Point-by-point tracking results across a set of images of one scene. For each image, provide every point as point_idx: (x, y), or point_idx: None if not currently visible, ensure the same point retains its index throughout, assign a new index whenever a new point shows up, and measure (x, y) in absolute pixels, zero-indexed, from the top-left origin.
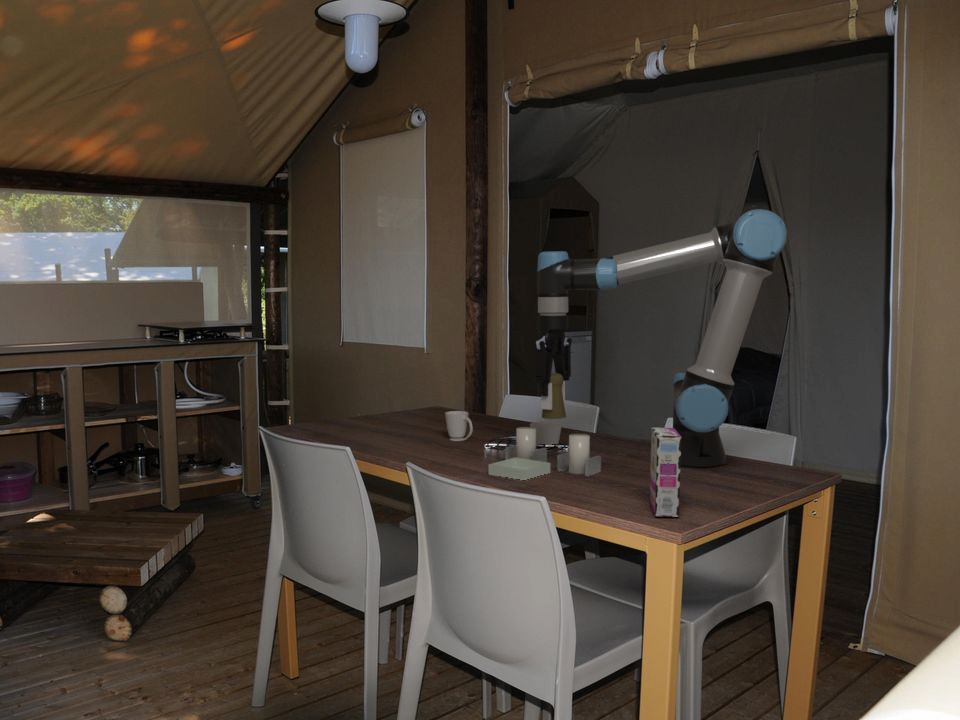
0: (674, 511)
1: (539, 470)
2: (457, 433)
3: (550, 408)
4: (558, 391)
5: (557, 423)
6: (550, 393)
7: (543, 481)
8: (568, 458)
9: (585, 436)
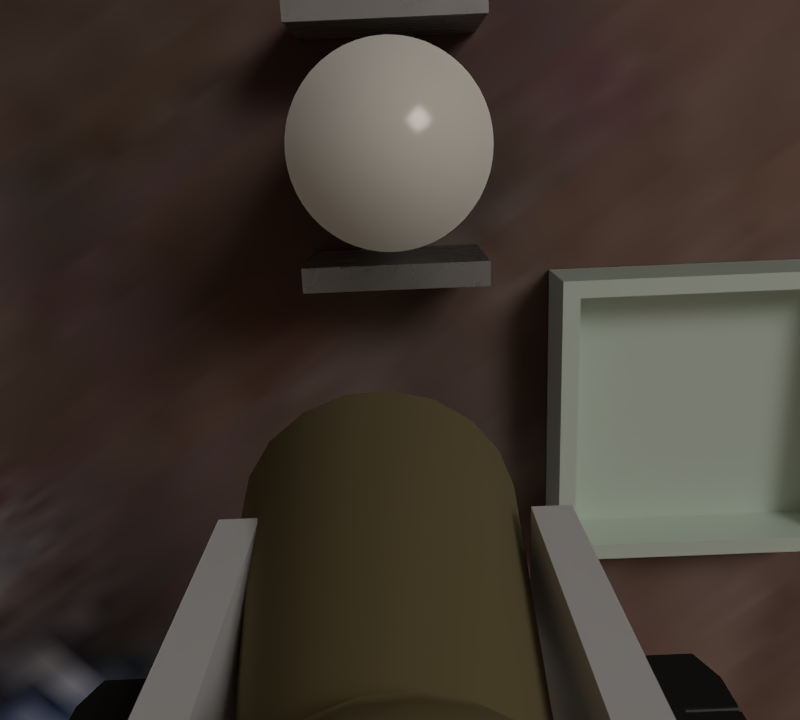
0: None
1: (687, 270)
2: None
3: (574, 514)
4: (441, 631)
5: None
6: (637, 650)
7: (779, 158)
8: (371, 260)
9: (394, 62)
